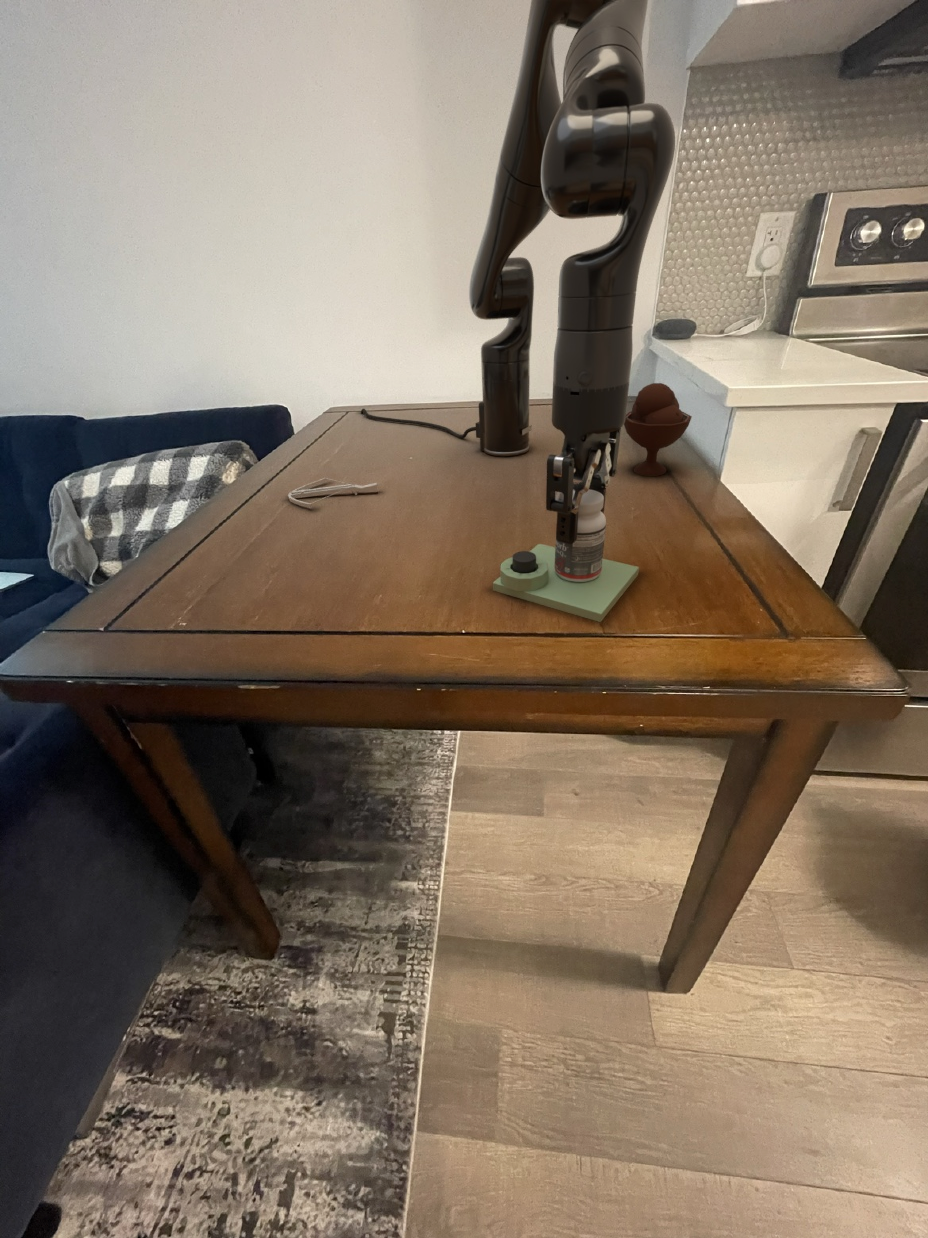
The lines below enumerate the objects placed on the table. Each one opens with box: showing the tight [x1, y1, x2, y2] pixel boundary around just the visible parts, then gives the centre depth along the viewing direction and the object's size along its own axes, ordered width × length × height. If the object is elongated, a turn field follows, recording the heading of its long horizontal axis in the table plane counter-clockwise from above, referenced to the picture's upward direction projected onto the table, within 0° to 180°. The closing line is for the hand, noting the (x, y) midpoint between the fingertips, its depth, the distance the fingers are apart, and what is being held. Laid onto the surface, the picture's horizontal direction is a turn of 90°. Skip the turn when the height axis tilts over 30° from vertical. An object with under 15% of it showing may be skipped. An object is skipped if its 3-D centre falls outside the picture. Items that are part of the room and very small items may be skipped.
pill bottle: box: [554, 489, 607, 582], centre depth 64 cm, size 6×6×10 cm
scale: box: [492, 543, 640, 623], centre depth 66 cm, size 14×12×3 cm
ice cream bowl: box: [623, 382, 693, 477], centre depth 94 cm, size 11×11×15 cm
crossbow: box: [287, 477, 380, 509], centre depth 96 cm, size 16×13×2 cm
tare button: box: [512, 550, 536, 574], centre depth 65 cm, size 3×3×2 cm
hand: (580, 528), depth 64 cm, fingers open, 7 cm apart
